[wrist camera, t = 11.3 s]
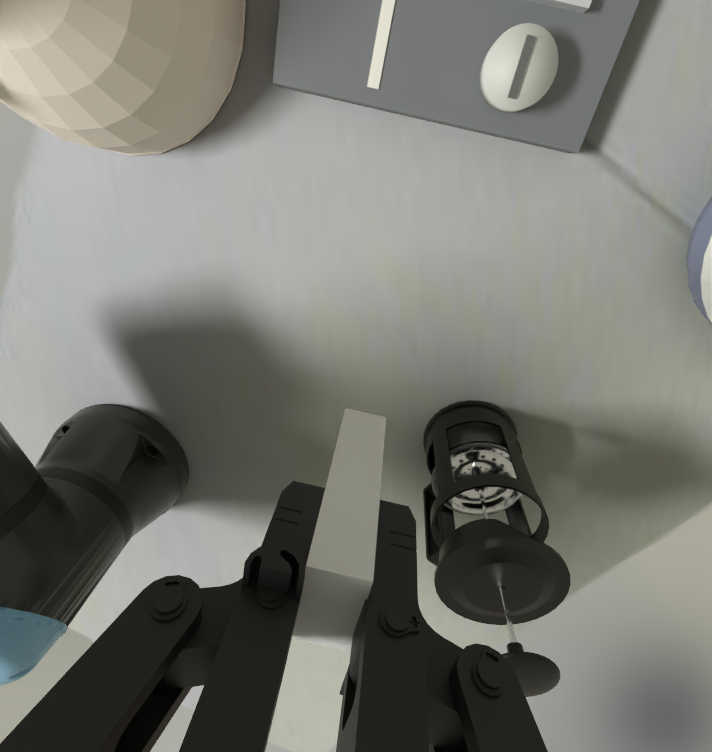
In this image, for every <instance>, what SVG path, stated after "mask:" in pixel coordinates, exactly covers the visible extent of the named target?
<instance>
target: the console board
mask: <svg viewBox="0 0 712 752" xmlns="http://www.w3.org/2000/svg"><path fill="white" fill-rule="evenodd" d="M639 1H640V0H280V4H279V15H278V27H277V38H276V49H275V61H274V72H273V83H274V84H276V85H278V86H279V87H283V88H287V89H291V90H296V91H300V92H304V93H309V94H313V95H317V96H322V97H326V98H331V99H335V100H339V101H344V102H348V103H352V104H357V105H361V106H365V107H370V108H374V109H378V110H383V111H387V112H392V113H396V114H400V115H405V116H409V117H413V118H418V119H422V120H426V121H431V122H435V123H440V124H444V125H448V126H453V127H457V128H461V129H466V130H470V131H474V132H479V133H483V134H487V135H492V136H496V137H501V138H505V139H509V140H514V141H518V142H522V143H527V144H531V145H535V146H540V147H544V148H549V149H553V150H557V151H562V152H566V153H579V150H580V148H581V145H582V143H583V140H584V138H585V135H586V133H587V130H588V128H589V125H590V123H591V120H592V118H593V115H594V113H595V111H596V108H597V106H598V103H599V101H600V98H601V96H602V93H603V91H604V88H605V86H606V83H607V81H608V78H609V76H610V73H611V71H612V68H613V66H614V63H615V61H616V58H617V56H618V53H619V51H620V48H621V46H622V43H623V41H624V38H625V36H626V33H627V31H628V28H629V26H630V23H631V21H632V18H633V16H634V13H635V11H636V8H637V6H638V3H639Z"/></svg>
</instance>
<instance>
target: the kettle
mask: <svg viewBox="0 0 712 752" xmlns="http://www.w3.org/2000/svg"><path fill="white" fill-rule="evenodd" d="M245 7H246V0H0V101H1V102H2V103H4V104H5V105H6V106H8V107H9V108H11V109H12V110H13V111H15V112H16V113H18V114H19V115H21V116H22V117H24V118H25V119H27V120H28V121H30V122H31V123H33V124H35V125H37V126H39V127H41V128H43V129H45V130H46V131H48V132H50V133H52V134H54V135H56V136H58V137H60V138H62V139H64V140H66V141H71V142H75V143H79V144H83V145H88V146H92V147H96V148H101V149H105V150H110V151H114V152H118V153H122V154H127V155H145V154H159V153H163V152H166V151H168V150H170V149H173V148H175V147H177V146H180V145H182V144H184V143H187V142H189V141H190V140H191V139H192V138H193V137H195V136H196V135H197V134H198V133H199V132H200V131H201V130H202V129H203V128H205V127H206V126H207V125H208V124H209V123H210V122H211V121H212V120H213V119H214V117H215V116H216V114H217V112H218V111H219V109H220V107H221V106H222V104H223V102H224V101H225V99H226V97H227V95H228V94H229V92H230V90H231V89H232V85H233V82H234V78H235V75H236V71H237V68H238V65H239V61H240V58H241V54H242V51H243V40H244V24H245Z"/></svg>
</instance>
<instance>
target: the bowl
mask: <svg viewBox="0 0 712 752" xmlns="http://www.w3.org/2000/svg"><path fill="white" fill-rule="evenodd" d="M687 267H688V280H689V288H690V291H691V294H692V297H693V299H694V302H695V304H696V305H697V307H698V308H699V310H700V311H701V313H702V314H703V315H704V317H705V318H706V319H707V320H708V321H709V322H710V323H711V324H712V197H711V199H710V200H709V201H708V203H707V204H706V205H705V207H704V209H703V210H702V212H701V214H700V216H699V218H698V219H697V221H696V223H695V226H694V229H693V231H692V234H691V237H690V240H689V246H688V253H687Z"/></svg>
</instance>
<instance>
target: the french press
mask: <svg viewBox="0 0 712 752" xmlns="http://www.w3.org/2000/svg"><path fill="white" fill-rule="evenodd" d="M472 422H478V423H487V424H492V425H494V426H497V427H500V430H501V433H502V436H503V439H504V444H503V445H501V444H497V443H494V442H487V441H473V442H466V443H463V444H459V445H457V446H454V447H452V448H450V449H449V442H448V435H447V430H448V429H450V428H452V427H454V426H457V425H461V424H465V423H472ZM423 443H424V449H425V452H426V456H427V465H428V469H429V471H430V473H431V475H432V476H431V483H430V484H429V485H428V486H427V487H426V488H425V489H424V491H423V495H424V516H425V537H426V557H427V560H428V561H430V562H431V563H433V564H434V565H436V566H437V568H436V570H435V579H434V582H435V587H436V592H437V594H438V596H439V597H440V599H441V601H442V602H443V603H444V604H445V605H446V606H447V607H448V608H449V609H451V610H452V611H454V612H455V613H457V614H459V615H461V616H462V617H464V618H467V619H470V620H473V621H476V622H481V623H486V624H495V625H507V628H508V633H509V638H510V642H511V643H509V644H508V645H507V651H508V653H505V654H501V655H502V656H503V657H504V658H505V659H506V660H507V661H508V662H509V663H510V665H511V667H512V669H513V670H514V672H515V674H516V676H517V678H518V680H519V683H520V685H521V688H522V690H523V693H524V695H525V697H529V696H535V695H540V694H543V693H546V692H548V691H549V690H551V689H553V688H554V687H555V686H556V685H557V684H558V682H559V679H560V671H559V668H558V667H557V666H556V664H555V663H554V662H552V661H551V660H550V659H548V658H546V657H544V656H541V655H539V654H535V653H530V652H524V650H523V647H522V645H521V644H520V643H518V642H517V641H516V637H515V632H514V628H513V624H518V623H524V622H528V621H531V620H534V619H537V618H539V617H542V616H544V615H546V614H548V613H549V612H551V611H552V610H554V609H555V608H556V607H557V606H558V605H559V604H560V603H561V602H562V601H563V600H564V598H565V597H566V595H567V594H568V591H569V587H570V573H569V571H568V568H567V565H566V563H565V561H564V560H563V558H562V557H561V556H560V554H558V553H557V552H556V551H555V550H554V549H553V548H551V547H550V546H548V545H546V544H544V541H545V539H546V537H547V534H548V530H549V521H548V517H547V514H546V511H545V509H544V506H543V504H542V501H541V499H540V497H539V496H538V494H537V493H536V491H535V489H534V486H533V484H532V481H531V478H530V476H529V473H528V471H527V468H526V465H525V463H524V460H523V458H522V452H521V448H520V445H519V442H518V440H517V431H516V428H515V426H514V423H513V421H512V420H511V418H510V417H509V416H508V415H507V414H506V413H505V412H504V411H503V410H501V409H500V408H498V407H496V406H494V405H492V404H489V403H486V402H480V401H463V402H458V403H455V404H452V405H449V406H447V407H445V408H443V409H442V410H440V411H439V412H438V413H436V414H435V415H434V416H433V418H432V419H431V420H430V421H429V423H428V425H427V427H426V429H425V433H424V442H423ZM522 494H524V495H526V496H528V497H529V498H531V499H532V500H533V501H534V502H535V503H537V504H538V506H539V507H540V508H541V512H542V516H541V521H540V524H539V526H538V528H537V530H536V531H535V533H534V534H533V535H532V534H531V531H530V528H529V525H528V522H527V519H526V516H525V513H524V509H523V506H522V503H521V500H520V496H521V495H522ZM504 509H505V511H506V514H507V518H508V522H509V525H510V526H509V525H507V524H505V523H503V522H501V521H498V520H496V519H489V517H488V514H493V513H497V512H499V511H502V510H504ZM453 511H456V512H459V513H462V514H467V515H484V519H480V520H476V521H472V522H469V523H467V524H465V525H462V526H461V527H459V528H457V529H456V530H455V523H454V515H453Z"/></svg>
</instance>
